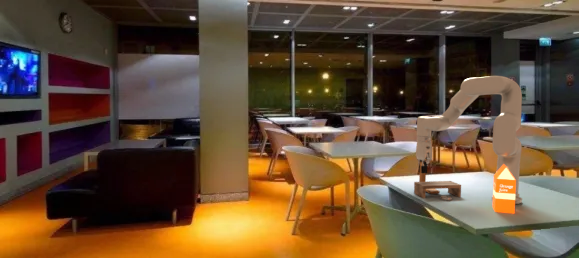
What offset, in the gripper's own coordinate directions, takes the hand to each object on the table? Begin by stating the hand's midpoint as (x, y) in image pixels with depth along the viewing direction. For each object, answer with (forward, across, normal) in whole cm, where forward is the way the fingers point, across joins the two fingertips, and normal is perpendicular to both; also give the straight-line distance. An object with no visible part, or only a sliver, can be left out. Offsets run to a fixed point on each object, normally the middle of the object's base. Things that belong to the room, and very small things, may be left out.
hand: (422, 172), depth 221 cm
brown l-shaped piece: (+8, -6, 0) cm, 10 cm away
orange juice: (+9, -46, -15) cm, 49 cm away
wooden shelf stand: (+9, -16, 0) cm, 18 cm away
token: (+9, -25, 0) cm, 26 cm away
